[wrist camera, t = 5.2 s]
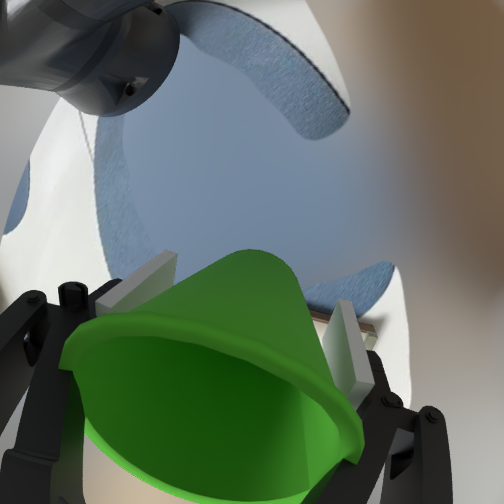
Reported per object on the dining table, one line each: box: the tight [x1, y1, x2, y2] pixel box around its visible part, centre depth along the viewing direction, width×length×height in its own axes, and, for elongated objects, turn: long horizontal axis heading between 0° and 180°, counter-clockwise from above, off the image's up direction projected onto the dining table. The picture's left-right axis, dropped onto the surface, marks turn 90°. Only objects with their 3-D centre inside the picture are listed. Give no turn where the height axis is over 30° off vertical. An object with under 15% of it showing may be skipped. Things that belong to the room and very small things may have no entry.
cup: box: [58, 249, 365, 504], centre depth 11 cm, size 9×9×11 cm
